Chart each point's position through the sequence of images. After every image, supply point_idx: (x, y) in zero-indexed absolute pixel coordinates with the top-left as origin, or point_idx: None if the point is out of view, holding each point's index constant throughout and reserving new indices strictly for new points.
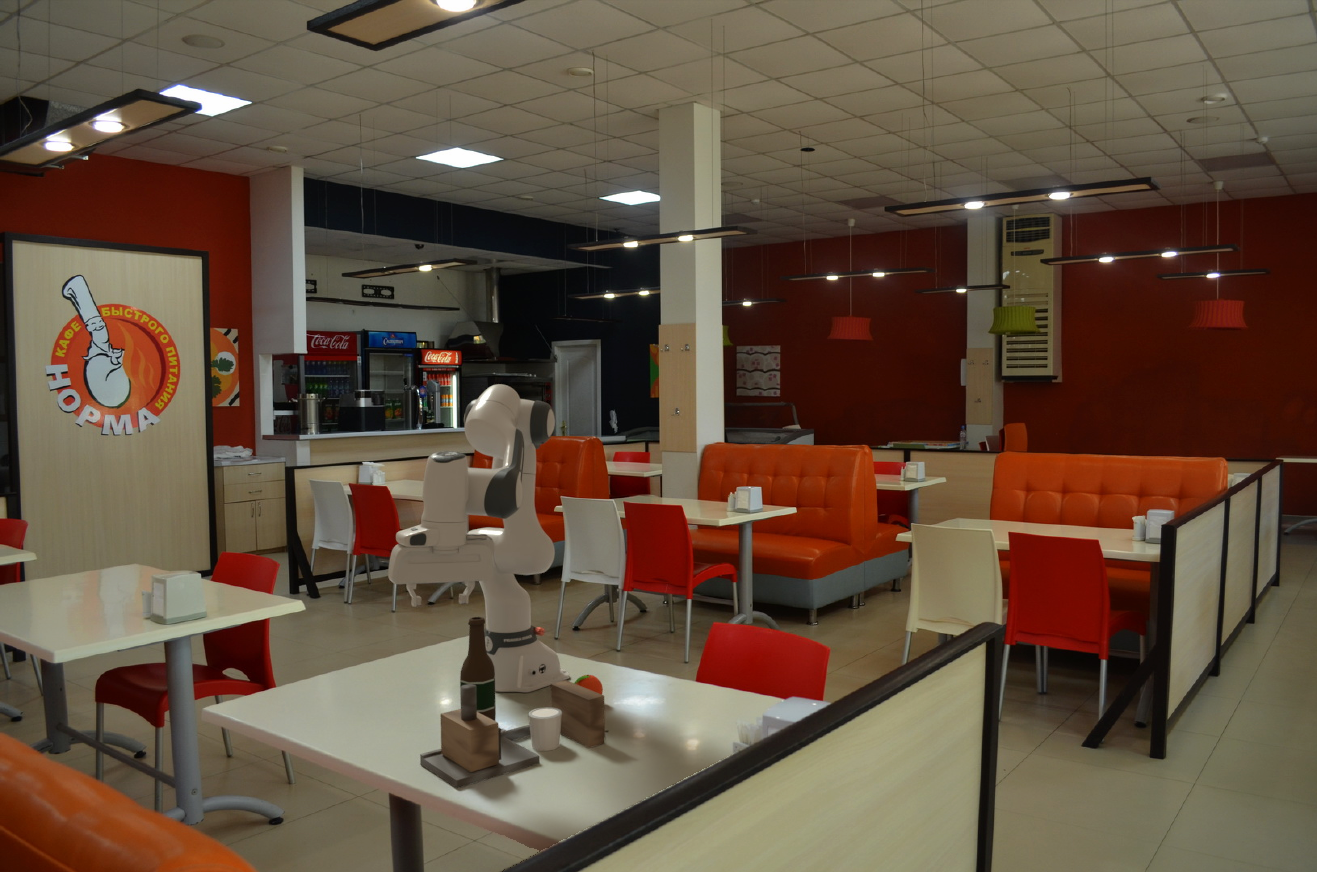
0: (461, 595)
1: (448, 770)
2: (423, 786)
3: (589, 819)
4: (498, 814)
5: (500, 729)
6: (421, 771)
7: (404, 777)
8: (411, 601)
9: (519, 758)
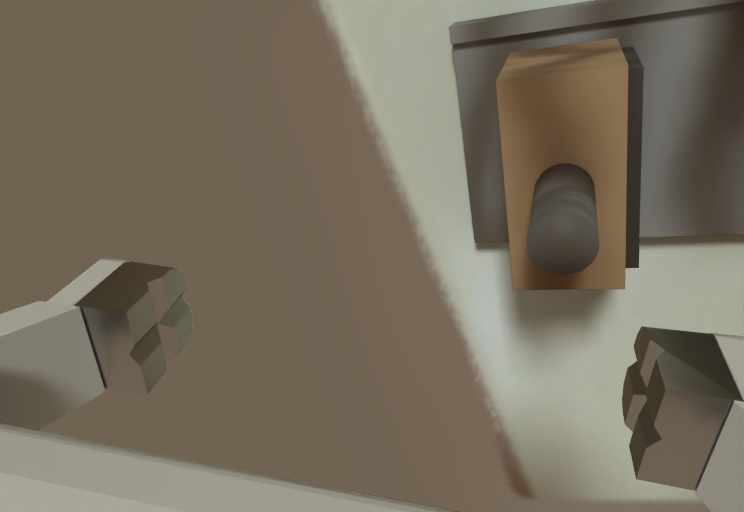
0: (642, 467)
1: (481, 175)
2: (413, 175)
3: (632, 496)
4: (497, 384)
5: (637, 266)
6: (439, 78)
7: (388, 92)
8: (88, 269)
9: (696, 216)
